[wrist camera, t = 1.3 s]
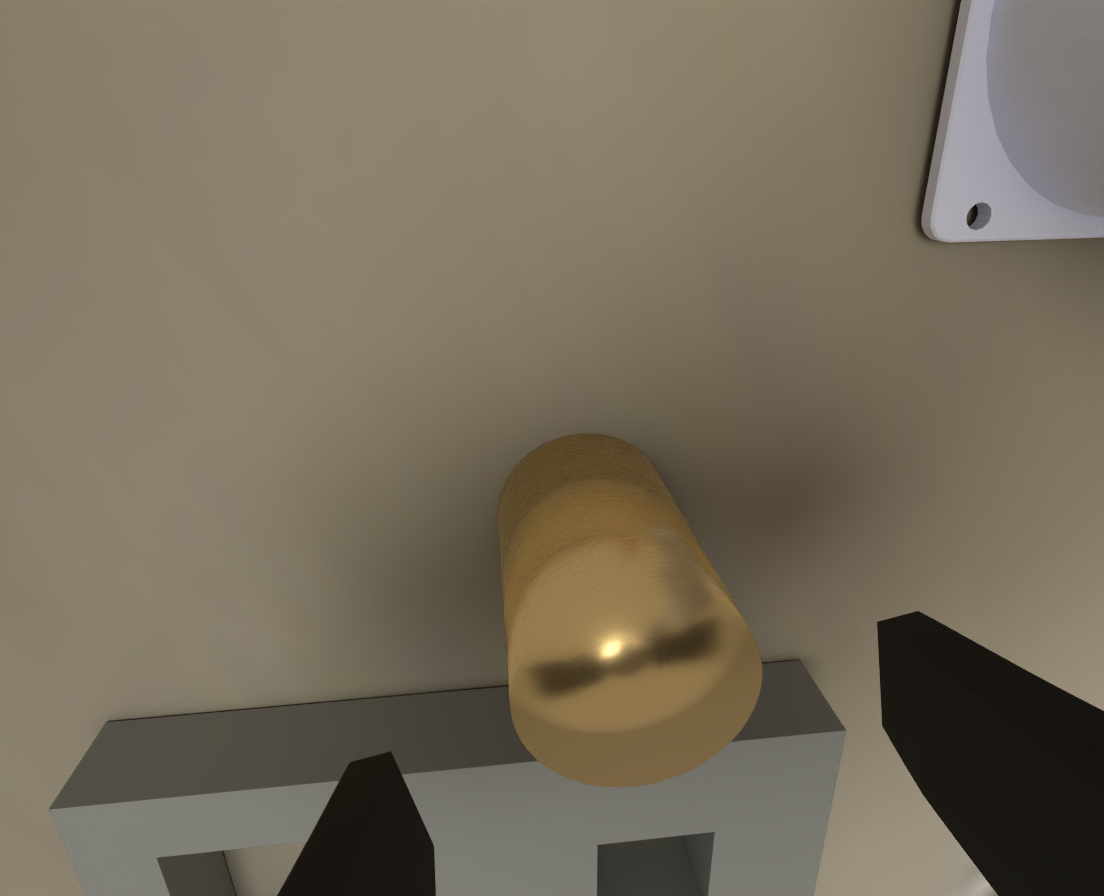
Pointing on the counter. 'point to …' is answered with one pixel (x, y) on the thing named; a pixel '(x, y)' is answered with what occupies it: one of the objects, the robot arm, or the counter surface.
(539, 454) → the gold cylinder
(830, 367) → the counter surface
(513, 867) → the header block
